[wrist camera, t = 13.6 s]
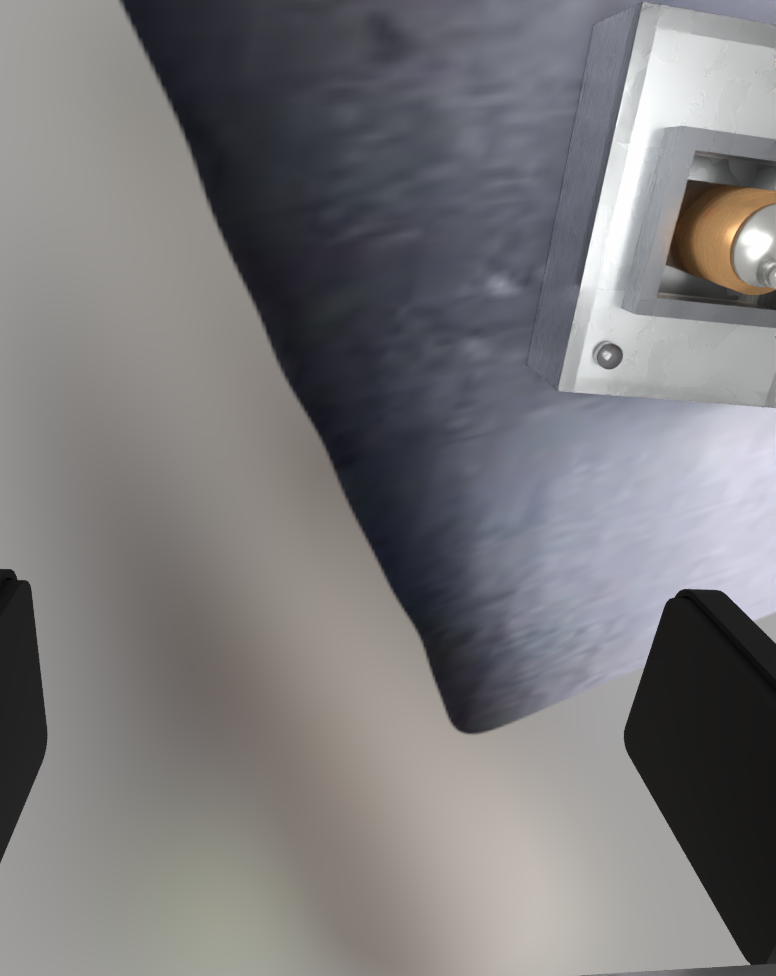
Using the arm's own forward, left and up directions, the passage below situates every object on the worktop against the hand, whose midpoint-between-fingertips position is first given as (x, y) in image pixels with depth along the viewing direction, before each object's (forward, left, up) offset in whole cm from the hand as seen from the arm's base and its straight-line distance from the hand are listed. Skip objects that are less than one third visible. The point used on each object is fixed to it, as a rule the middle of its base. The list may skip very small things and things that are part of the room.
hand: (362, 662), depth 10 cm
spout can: (-6, +18, -27) cm, 33 cm away
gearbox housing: (-6, +18, -28) cm, 34 cm away
